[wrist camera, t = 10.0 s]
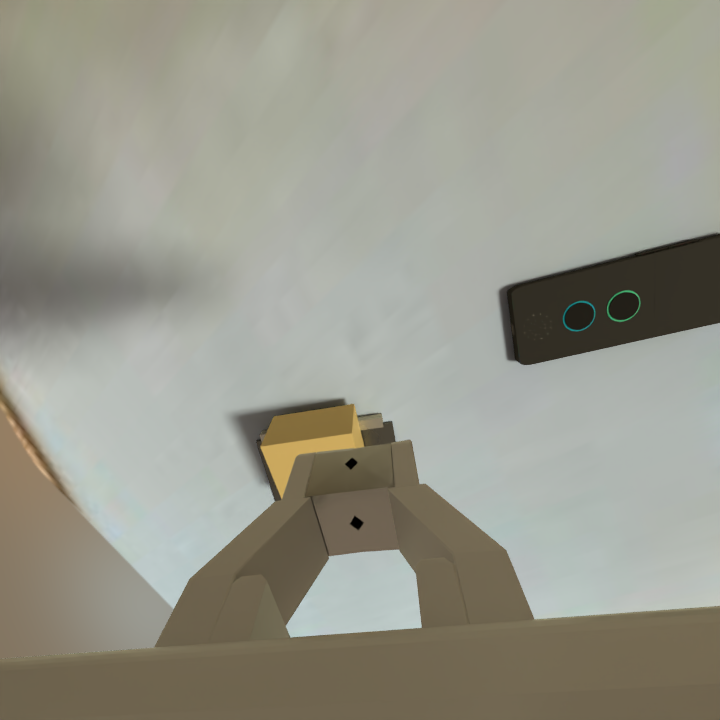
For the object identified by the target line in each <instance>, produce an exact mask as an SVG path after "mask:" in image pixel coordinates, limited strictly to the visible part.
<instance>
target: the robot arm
mask: <svg viewBox="0 0 720 720" xmlns="http://www.w3.org/2000/svg"><path fill="white" fill-rule="evenodd" d="M396 549H399V550H400V552H401V553H402V555H403V556H404V558H405V559H406V560H407V562H408V563H409V565H410V566H411V567H412V569H413V570H414V572H415V573H416V577H417V586H418V596H419V605H420V614H421V623H422V628H415V629H402V630H388V631H375V632H361V633H347V634H333V635H319V636H306V637H292V638H290V636H289V633H288V631H287V628H286V625H287V623H288V621H289V620H290V618H291V617H292V615H293V614H294V612H295V611H296V609H297V607H298V606H299V604H300V603H301V601H302V600H303V598H304V597H305V595H306V593H307V592H308V590H309V589H310V587H311V586H312V584H313V582H314V581H315V579H316V578H317V576H318V575H319V573H320V572H321V570H322V568H323V567H324V565H325V564H326V562H327V561H328V559H329V557H328V556H334V555H342V554H349V553H357V552H366V551H381V550H396ZM0 720H720V606H712V607H699V608H685V609H671V610H658V611H644V612H630V613H617V614H603V615H589V616H576V617H562V618H548V619H534V617H533V615H532V612H531V610H530V607H529V605H528V602H527V600H526V597H525V595H524V593H523V590H522V588H521V585H520V583H519V580H518V578H517V576H516V573H515V571H514V568H513V566H512V563H511V561H510V558H509V556H508V554H507V551H506V550H505V549H504V548H503V547H502V546H500V545H499V544H498V543H497V542H496V541H494V540H493V539H492V538H491V537H489V536H488V535H487V534H486V533H485V532H483V531H482V530H481V529H480V528H479V527H477V526H476V525H475V524H474V523H472V522H471V521H470V520H469V519H468V518H466V517H465V516H464V515H463V514H462V513H460V512H459V511H458V510H457V509H455V508H454V507H453V506H452V505H451V504H449V503H448V502H447V501H446V500H445V499H443V498H442V497H441V496H440V495H438V494H437V493H436V492H435V491H434V490H432V489H431V488H430V487H429V486H428V485H426V484H419V480H418V474H417V469H416V463H415V457H414V452H413V446H412V441H411V440H405V441H399V442H393V443H390V444H383V445H375V446H368V447H361V448H350V449H340V450H331V451H322V452H317V453H316V452H313V453H305V454H299V455H298V456H296V458H295V461H294V464H293V467H292V470H291V473H290V476H289V479H288V482H287V485H286V488H285V491H284V494H283V497H282V500H281V501H275V502H274V503H273V504H272V505H271V506H270V507H269V508H268V509H266V510H265V511H264V512H263V513H262V514H261V515H260V516H259V517H258V518H257V519H255V520H254V521H253V522H252V523H251V524H250V525H249V526H248V527H247V528H245V529H244V530H243V531H242V532H241V533H240V534H239V535H238V536H237V537H236V538H234V539H233V540H232V541H231V542H230V543H229V544H228V545H227V546H226V547H224V548H223V549H222V550H221V551H220V552H219V553H218V554H217V555H216V556H215V557H213V558H212V559H211V560H210V561H209V562H208V563H207V564H206V565H205V566H203V567H202V568H201V569H200V570H199V571H198V572H197V573H196V574H195V575H194V576H192V577H191V578H190V579H189V581H188V583H187V585H186V587H185V589H184V591H183V593H182V595H181V597H180V599H179V600H178V602H177V604H176V606H175V608H174V610H173V612H172V614H171V616H170V618H169V620H168V622H167V624H166V626H165V628H164V629H163V631H162V633H161V635H160V637H159V639H158V641H157V643H156V645H155V647H154V648H141V649H128V650H114V651H100V652H87V653H74V654H61V655H46V656H32V657H19V658H5V659H0Z"/></svg>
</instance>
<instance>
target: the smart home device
mask: <svg viewBox="0 0 720 720" xmlns="http://www.w3.org/2000/svg"><path fill="white" fill-rule="evenodd" d="M507 296H508V304H509V312H510V320H511V329H512V336H513V344H514V353H515V359H516V360H517V361H518V362H519V363H520V364H523V365H531V364H536V363H540V362H545V361H549V360H554V359H558V358H563V357H567V356H572V355H576V354H581V353H585V352H590V351H594V350H599V349H603V348H608V347H612V346H617V345H621V344H626V343H630V342H635V341H639V340H644V339H648V338H653V337H658V336H662V335H667V334H671V333H676V332H680V331H685V330H689V329H694V328H698V327H703V326H707V325H712V324H716V323H720V234H719V235H715V236H711V237H707V238H703V239H694V240H690V241H686V242H682V243H678V244H674V245H670V246H666V247H662V248H658V249H654V250H650V251H646V252H642V253H638V254H635V256H631V257H627V258H623V259H619V260H615V261H611V262H607V263H603V264H599V265H595V266H591V267H587V268H583V269H579V270H575V271H571V272H567V273H563V274H559V275H555V276H551V277H547V278H543V279H539V280H536V281H532V282H528V283H524V284H520V285H516V286H514V287H512V288H510V289H509V290H508V291H507Z"/></svg>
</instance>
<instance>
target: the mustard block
mask: <svg viewBox="0 0 720 720" xmlns="http://www.w3.org/2000/svg"><path fill="white" fill-rule="evenodd" d="M260 447H261V450H262V452H263V455H264V457H265V460H266V462H267V465H268V467H269V469H270V472H271V474H272V477H273V479H274V482H275V484H276V487H277V489H278V491H279V494H280V496H281V499H282V497H283V494H284V491H285V488H286V485H287V482H288V479H289V476H290V473H291V470H292V467H293V464H294V461H295V458H296V456H298V455H299V454H305V453H313V452H316V453H317V452H322V451H331V450H340V449H350V448H361V447H364V443H363V439H362V435H361V430H360V426H359V422H358V418H357V414H356V410H355V406H354V404H350V405H344V406H337V407H331V408H325V409H318V410H312V411H305V412H299V413H292V414H286V415H280V416H274V417H273V419H272V421H271V423H270V426H269V428H268V430H267V433H266V435H265V437H264V439H263V442H262V444H261V446H260Z"/></svg>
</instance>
